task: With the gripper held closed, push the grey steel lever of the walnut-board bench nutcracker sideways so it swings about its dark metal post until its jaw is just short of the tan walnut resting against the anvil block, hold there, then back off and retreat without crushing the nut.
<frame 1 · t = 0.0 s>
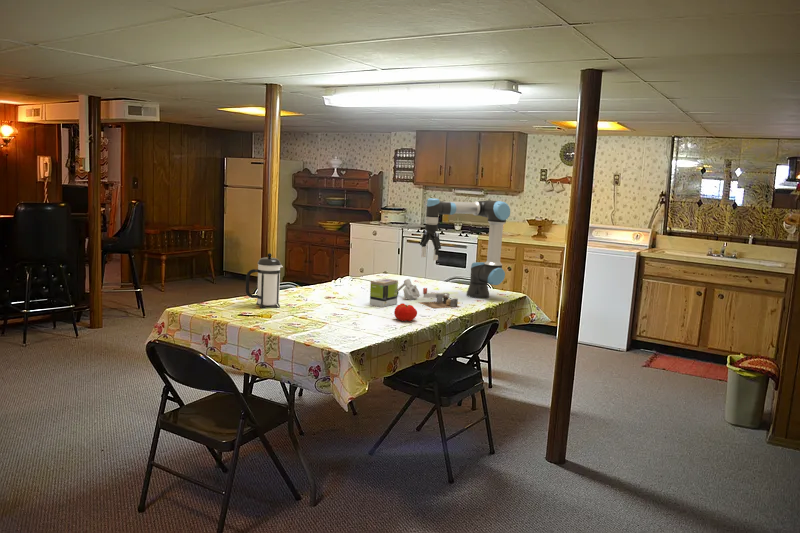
hand: (429, 258, 384), 28 cm above the table, fingers open, 13 cm apart
tomato: (405, 320, 339), on the table
tea box: (383, 304, 378), on the table
walnut: (448, 305, 379), point 1 cm above the table, touching board
coffee press: (265, 306, 353), on the table
board: (439, 306, 381), on the table
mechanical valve: (403, 298, 402), on the table
lever: (436, 295, 383), point 6 cm above the table, hinge at 0.0°
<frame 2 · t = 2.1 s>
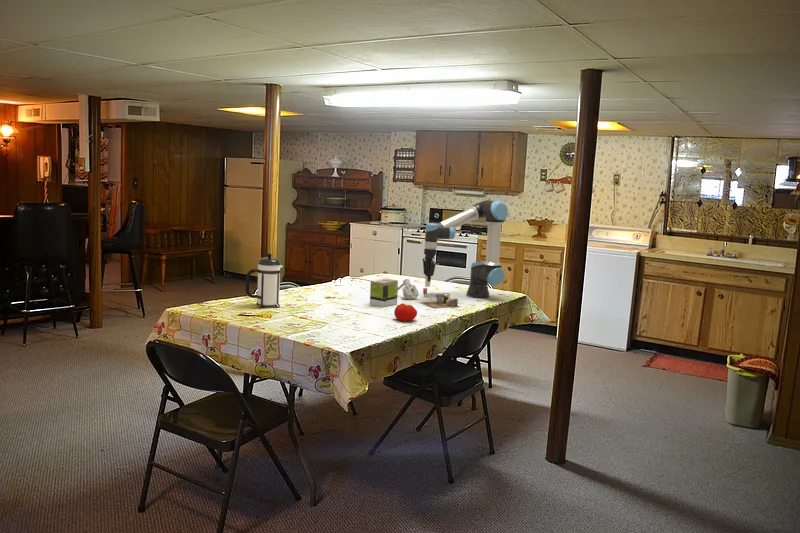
hand: (427, 286, 388), 11 cm above the table, fingers closed
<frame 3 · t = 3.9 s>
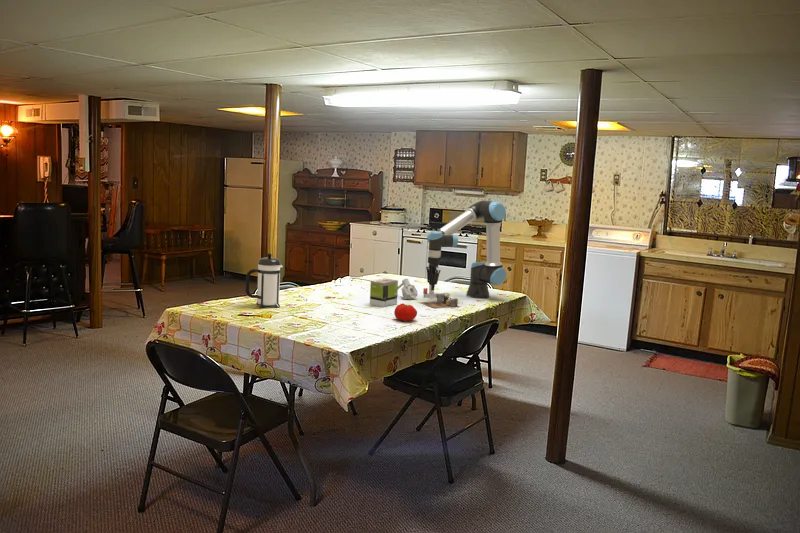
hand: (431, 295, 384), 6 cm above the table, fingers closed
lever: (436, 295, 383), point 6 cm above the table, hinge at 2.2°, touching gripper
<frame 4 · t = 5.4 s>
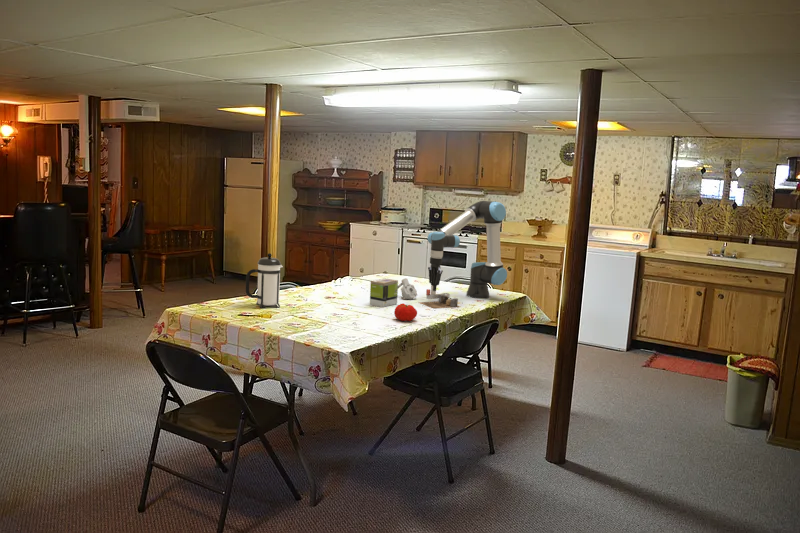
hand: (433, 295, 382), 6 cm above the table, fingers closed
lever: (438, 296, 381), point 6 cm above the table, hinge at 18.6°, touching gripper
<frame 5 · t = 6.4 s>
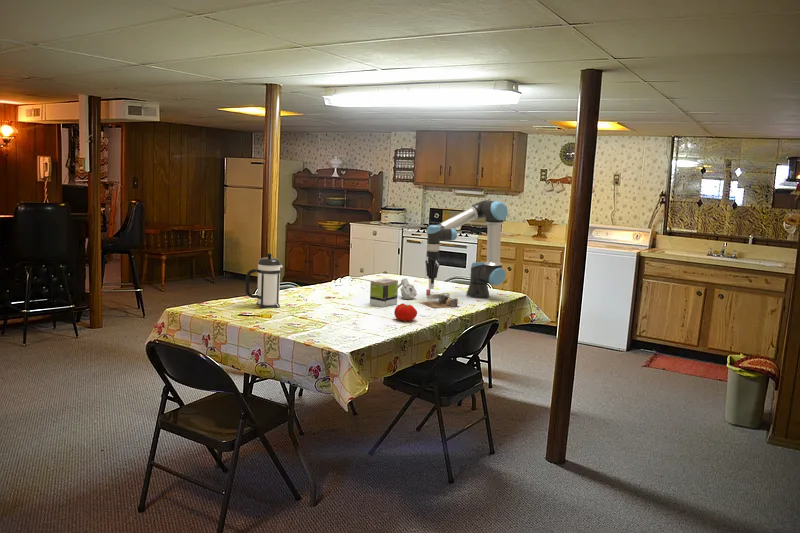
hand: (431, 288, 386), 10 cm above the table, fingers closed
lever: (438, 296, 381), point 6 cm above the table, hinge at 18.6°
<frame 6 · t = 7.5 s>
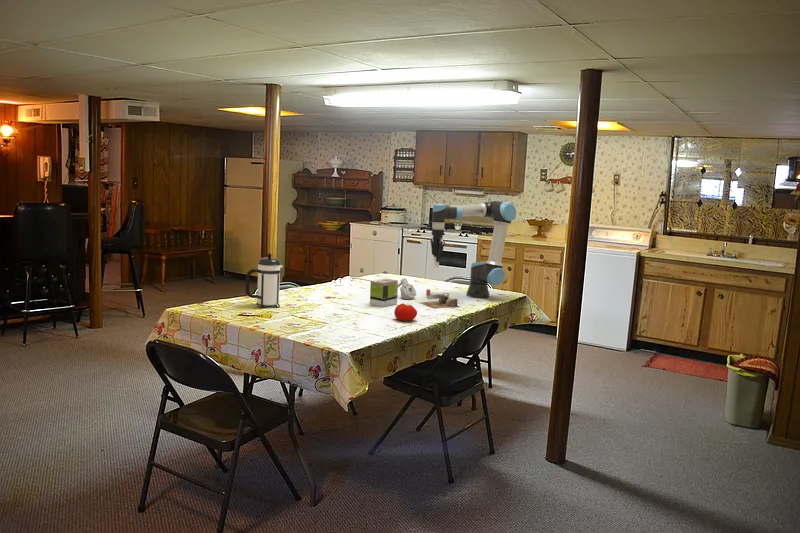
hand: (436, 267, 388), 23 cm above the table, fingers closed
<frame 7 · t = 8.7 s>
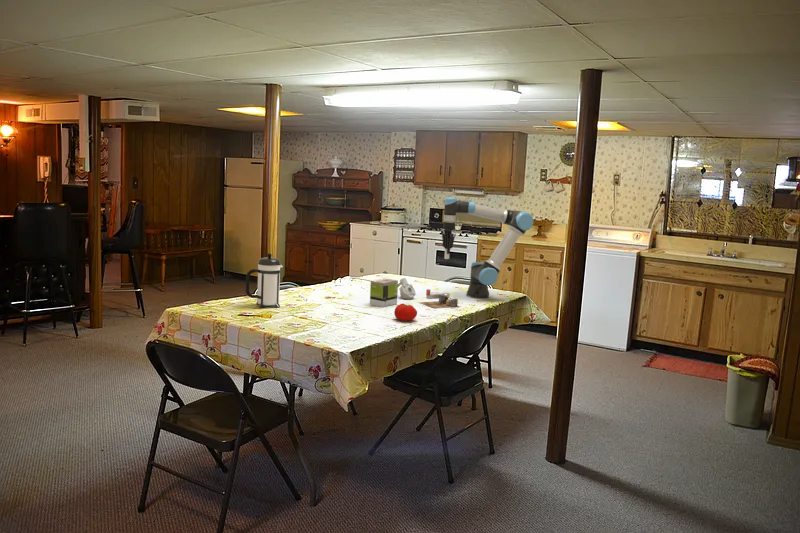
hand: (446, 258, 401), 26 cm above the table, fingers closed
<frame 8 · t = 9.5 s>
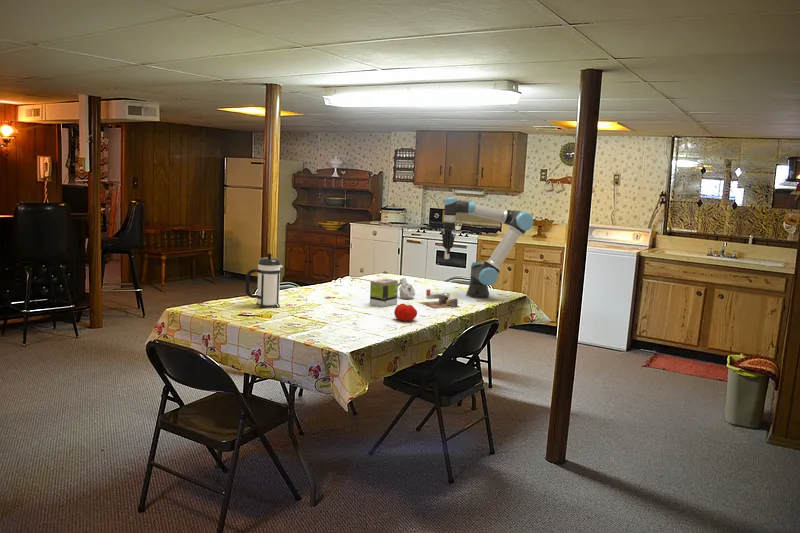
hand: (446, 258, 401), 26 cm above the table, fingers closed
at the end: lever at +19° (first picture: +0°); walnut moved 0.0 cm from its start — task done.
